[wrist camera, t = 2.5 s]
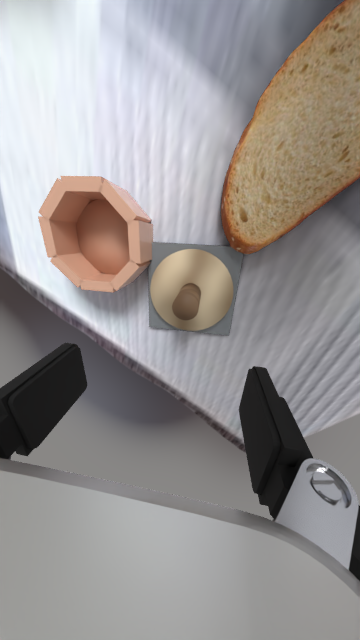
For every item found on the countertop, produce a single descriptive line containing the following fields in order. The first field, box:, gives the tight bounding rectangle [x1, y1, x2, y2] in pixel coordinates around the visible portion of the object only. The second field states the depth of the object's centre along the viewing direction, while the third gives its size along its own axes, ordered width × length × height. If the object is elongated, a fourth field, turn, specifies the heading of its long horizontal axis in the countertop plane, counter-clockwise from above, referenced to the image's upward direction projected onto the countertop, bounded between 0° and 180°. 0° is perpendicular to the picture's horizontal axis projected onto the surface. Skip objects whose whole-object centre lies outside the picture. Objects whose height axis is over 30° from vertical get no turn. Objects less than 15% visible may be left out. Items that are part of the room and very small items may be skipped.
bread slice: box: [221, 0, 360, 254], centre depth 16 cm, size 18×18×4 cm
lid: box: [150, 249, 233, 331], centre depth 22 cm, size 11×11×6 cm
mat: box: [148, 242, 244, 336], centre depth 25 cm, size 12×12×1 cm
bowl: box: [38, 176, 153, 292], centre depth 22 cm, size 11×11×5 cm
